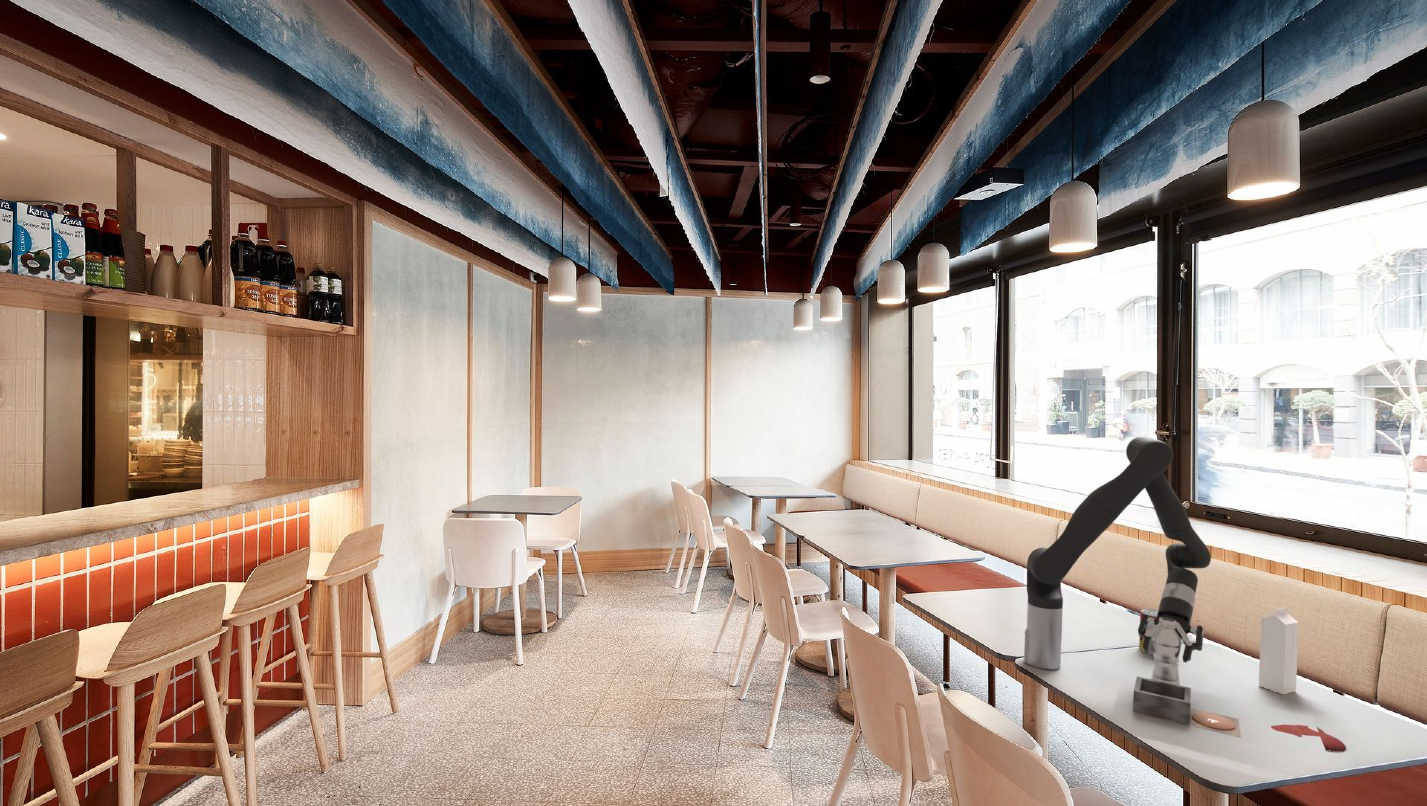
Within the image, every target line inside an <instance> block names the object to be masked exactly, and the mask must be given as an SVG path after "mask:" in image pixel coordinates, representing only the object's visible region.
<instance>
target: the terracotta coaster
mask: <svg viewBox="0 0 1427 806" xmlns="http://www.w3.org/2000/svg"><path fill="white" fill-rule="evenodd" d="M1211 713H1212V712H1211ZM1211 713H1205V712H1196V713H1193V714H1192V718H1193V719H1194V720H1195V721H1196V722H1198V723H1200V724H1202V725H1205V726H1208V727H1211V728H1215V729H1221V730H1233V729H1235V726H1236V725H1235V723H1234V722H1232V721H1231V720H1229V719H1227V718H1225V717H1222V716H1219V715H1216V714H1217V713H1215V714H1211Z"/></svg>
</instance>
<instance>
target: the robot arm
mask: <svg viewBox="0 0 1427 806" xmlns="http://www.w3.org/2000/svg"><path fill="white" fill-rule="evenodd" d="M1125 451H1126V452H1125V453H1126V458H1127V460H1128V461H1129V464H1128V465H1127V466H1126V467H1125V469H1124V470H1123V471H1122V472H1121V473H1119V474H1118V475H1117V476H1116V477H1114V478H1113V479H1111V480H1109V481H1107V482H1105V483H1104V484H1102V485H1100V486H1099V487H1097V488H1096V489H1094V490H1093V491H1092V492H1090V493H1089V494H1088V495H1087V496H1086V498H1085V499H1084V500H1083V501H1082V502H1081V503H1080V504H1079V505H1078V506H1077V507H1076V509H1075V510H1074V511H1073V513H1072V515H1071V516H1070V519H1069V521H1068V522H1067V525H1066V527H1065V528H1064V531H1063V532H1062V533H1061V535H1060V536H1059V537H1058V538H1057V539H1056V540H1055V541H1054V542H1053V543H1052V544H1051V545H1050V546H1049V547H1039V548H1036V549H1034V550H1032V551H1031V553H1030V554H1029V556H1028V557H1027V558H1028V559H1027V561H1026V562H1027V563H1026V593H1027V610H1026V612H1027V613H1026V614H1027V615H1026V628H1025V630H1024V650H1023V653H1024V654H1023V663H1024V664H1028V665H1030V666H1032V667H1035V668H1038V669H1042V670H1043V669H1044V670H1058V669H1060V668H1061V662H1062V658H1061V657H1062V639H1063V638H1062V635H1063V634H1062V633H1063V632H1062V631H1063V612H1064V609H1063V608H1064V607H1063V606H1064V605H1063V604H1064V597H1063V594H1062V585H1061V584H1062V580H1064V579H1065V577H1066V576H1067V574H1068V573H1069V572H1070V571H1071V569H1072V567H1073V566H1074V565H1075V564H1076V563H1077V561H1078V559H1079V558H1080V557H1081V556H1082V555H1083V553H1084V552H1085V551H1086V550H1087V549H1089V547H1090V546H1091V545H1093V543H1095V542H1096V540H1097V539H1098V538H1099V537H1101V535H1102V534H1103V533H1104V532H1105V531H1106V530H1108V528H1109V527H1110V526H1111V525H1112V524H1113V523H1114V522H1115V521H1116V520H1117V519H1118V517H1119V516H1120V515H1121V514H1122V513H1123V511H1124V510H1126V509H1127V507H1128V506H1129V505H1130V504H1131V503H1132V502H1133V501H1135V499H1136V498H1137V497H1138V495H1140V493H1141V492H1142V491H1144V490H1145V491H1146V493H1147V495H1148V497H1149V499H1150V502H1151V504H1152V507H1153V509H1154V512H1155V514H1156V516H1157V519H1158V521H1159V522H1158V523H1160V527H1161V529H1162V532H1163V535H1165V537H1166V538H1167V539H1169V540H1174V541H1179V542H1181V543H1179V542H1178V543H1171V544H1170V545H1168V547H1166V549H1165V559H1166V565H1167V566H1166V567H1167V568H1166V569H1167V577H1166V582H1165V584H1164V585H1165V586H1164V588H1163V590H1162V593H1161V597H1160V602H1159V607H1158V609H1157V611H1158V614H1157V616H1156V617H1155V618H1151V617H1148V615H1146V614H1144V615H1143V616H1142V619H1141V622H1140V621H1139V625H1138V627H1137V633H1138V636H1139V638H1140V637H1141V638H1144V642H1143V649H1144V650H1145V654H1147V653H1149V651H1150V647H1151V640H1152V636H1153V634H1154V633H1155V631H1156V630H1157V629H1159V627H1160V626H1159V618H1170V619H1173V620H1175V621H1176V629H1175V631H1176V632H1177V634H1178V635H1179V637H1180V639H1181V642H1182V644H1183V645H1184V648H1183V653H1182V662H1183V663H1185V664H1187V663H1188V662H1190V661H1191V659H1192V655H1193V654H1192V653H1193V651H1200V652H1201V651H1202V650H1203V645H1204V644H1203V643H1204V628H1203V626H1202V625H1197V626H1193V625H1191V622H1192V617H1193V612H1194V609H1195V602H1196V593H1197V589H1198V588H1197V587H1198V584H1199V583H1198V581H1199V580H1198V578H1199V577H1198V576H1197V574H1196V573H1195V572H1193V570H1190V569H1205V568H1207V567H1209V565H1210V564H1211V560H1212V557H1211V556H1212V555H1211V553H1210V550H1209V548H1208V546H1207V545H1206V544H1205V542H1204V541H1203V540H1202V539H1201V537H1200V535H1198V533H1197V532H1196V531H1195V529H1194V527H1192V526H1193V525H1192V524H1191V521H1190V519H1189V516H1188V514H1187V511H1186V509H1185V506H1184V505H1183V504H1182V501H1181V500H1180V499H1179V497H1178V496H1177V493H1175V491H1174V489H1173V488H1172V486H1171V485H1170V483H1169V481H1168V479H1167V478H1166V475H1165V473H1164V472H1165V471H1166V470H1168V468H1169V467H1170V466H1171V464H1172V463H1173V460H1174V451H1173V449H1172V447H1171V446H1170V445H1169V444H1168V443H1166V442H1165V441H1162V440H1160V439H1156V438H1152V437H1149V436H1137V437H1135V438H1133V439H1132V440H1130V441H1129V443H1128V444H1127V446H1126V449H1125ZM1151 623H1154V624H1155V626H1154V627H1152V628H1151V630H1149V631H1148V632H1146V629H1147V626H1150V625H1151ZM1191 632H1192V633H1193V635H1194V636H1195V642H1192V641H1191V640H1190V639H1189V637H1188V634H1189V633H1191Z"/></svg>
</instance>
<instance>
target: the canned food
mask: <svg viewBox="0 0 1427 806" xmlns="http://www.w3.org/2000/svg"><path fill="white" fill-rule="evenodd" d="M1144 614H1146V615H1148V617H1151V618H1155V617H1156V616H1157V614H1158V609H1156V610H1155V609H1149V608H1147V609H1140V613H1139V615H1140V617H1139V623H1140V622H1141V619H1142V616H1143V615H1144ZM1154 626H1155V624H1154V623H1151V625H1150V626H1147V629H1146V632H1148V631H1149V630H1151V628H1152V627H1154ZM1143 642H1144V638H1141V637H1140V636H1139V642H1138V643H1139V644H1138V649H1139V651H1140V652H1142V653H1145V650H1144V649H1143ZM1145 654H1148V655H1152V656H1154V651H1153V643H1152V640H1151V647H1150V651H1149V653H1145Z"/></svg>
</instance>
